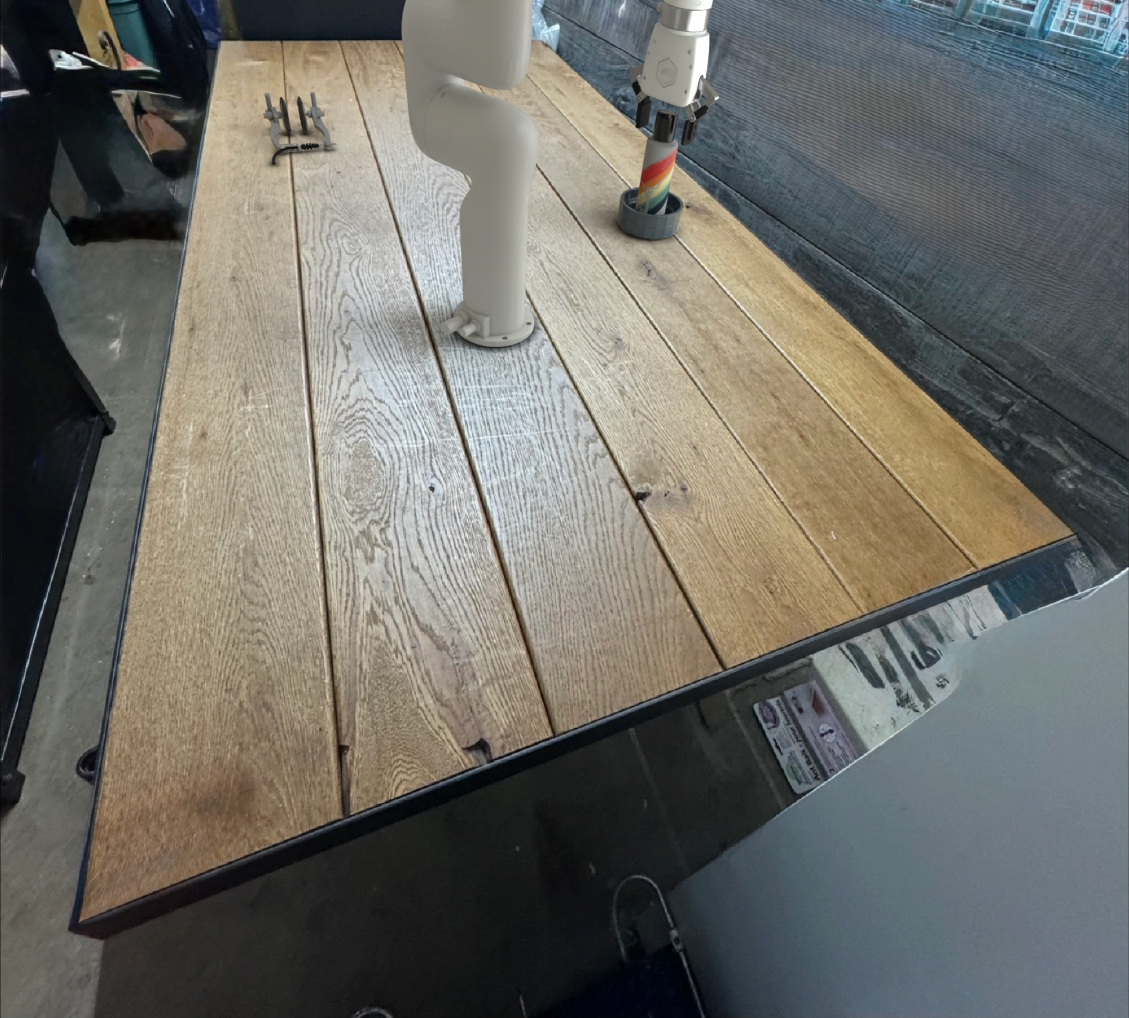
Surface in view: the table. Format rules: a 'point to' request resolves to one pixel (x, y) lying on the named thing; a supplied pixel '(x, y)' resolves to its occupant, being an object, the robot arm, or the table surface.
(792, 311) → the table surface
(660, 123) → the lotion bottle
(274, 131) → the bike brake
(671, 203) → the bowl
